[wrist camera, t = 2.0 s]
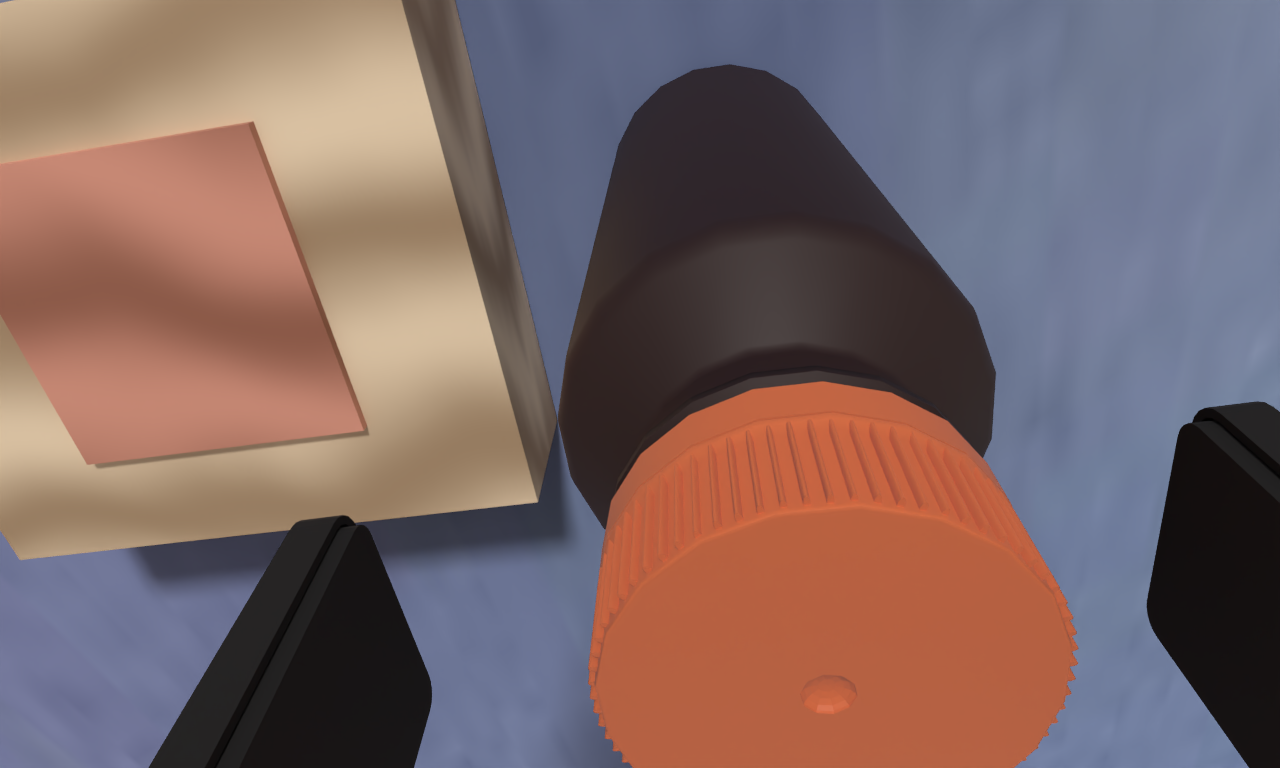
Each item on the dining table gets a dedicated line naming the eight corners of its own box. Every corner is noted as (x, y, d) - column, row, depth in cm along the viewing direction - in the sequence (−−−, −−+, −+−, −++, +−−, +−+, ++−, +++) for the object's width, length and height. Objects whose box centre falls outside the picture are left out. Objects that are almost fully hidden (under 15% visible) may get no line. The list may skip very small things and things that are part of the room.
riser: (557, 420, 30) (536, 508, 26) (108, 474, 32) (14, 565, 28) (437, -70, 23) (377, -70, 18) (-139, 39, 25) (-326, 64, 20)
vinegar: (757, 12, 24) (1009, 247, 6) (870, 203, 26) (1278, 760, 9) (570, 150, 26) (353, 625, 8) (692, 314, 28) (726, 947, 11)
